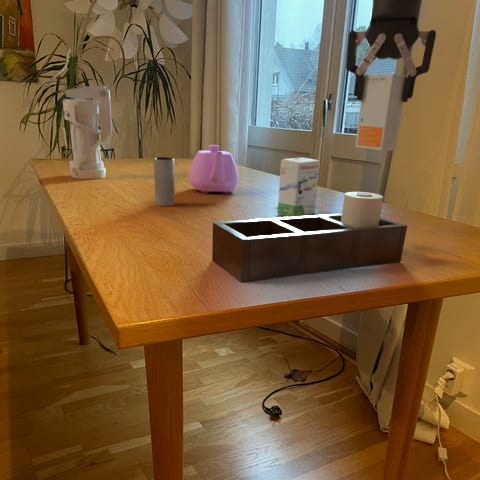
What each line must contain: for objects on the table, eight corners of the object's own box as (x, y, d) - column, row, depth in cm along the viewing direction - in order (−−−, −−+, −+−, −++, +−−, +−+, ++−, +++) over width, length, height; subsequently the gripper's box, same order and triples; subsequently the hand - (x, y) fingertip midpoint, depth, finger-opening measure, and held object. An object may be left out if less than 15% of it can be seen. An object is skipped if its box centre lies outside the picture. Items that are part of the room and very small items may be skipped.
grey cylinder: (154, 206, 109) (152, 159, 104) (156, 202, 113) (155, 156, 109) (173, 206, 109) (173, 159, 105) (175, 202, 113) (174, 157, 109)
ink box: (294, 218, 103) (299, 161, 98) (276, 214, 106) (280, 159, 101) (315, 213, 109) (321, 159, 104) (298, 209, 112) (302, 157, 107)
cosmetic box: (354, 148, 86) (363, 74, 81) (368, 147, 89) (378, 75, 84) (382, 151, 82) (393, 73, 77) (396, 150, 84) (408, 75, 80)
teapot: (186, 184, 138) (186, 141, 133) (232, 185, 140) (233, 142, 135) (193, 197, 120) (193, 148, 115) (245, 198, 122) (247, 149, 117)
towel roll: (374, 253, 81) (384, 193, 77) (371, 263, 76) (382, 199, 71) (339, 249, 83) (347, 189, 78) (334, 258, 77) (342, 195, 73)
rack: (359, 245, 85) (364, 211, 83) (400, 262, 77) (407, 225, 75) (211, 260, 74) (212, 222, 71) (240, 282, 65) (242, 239, 63)
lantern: (68, 179, 138) (58, 83, 128) (72, 173, 148) (63, 84, 137) (114, 179, 141) (108, 85, 130) (115, 174, 150) (109, 86, 140)
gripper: (349, -18, 74) (336, 99, 81) (448, -21, 70) (425, 102, 77) (356, -8, 81) (343, 100, 87) (446, -10, 76) (426, 103, 83)
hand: (382, 100), depth 82 cm, fingers closed on cosmetic box, 7 cm apart
